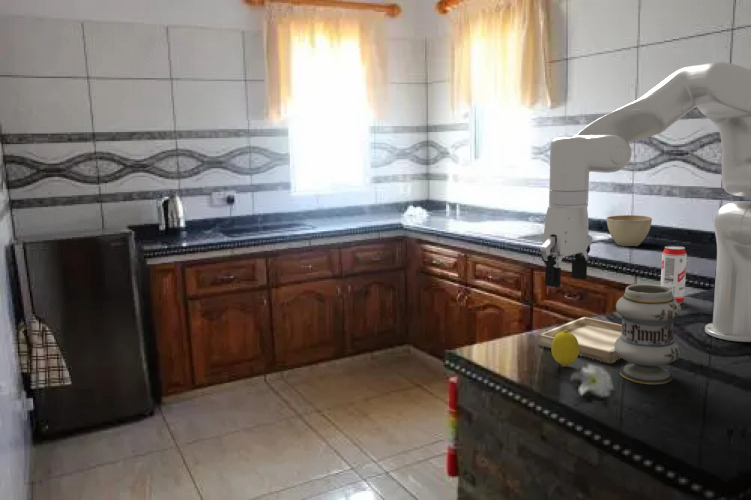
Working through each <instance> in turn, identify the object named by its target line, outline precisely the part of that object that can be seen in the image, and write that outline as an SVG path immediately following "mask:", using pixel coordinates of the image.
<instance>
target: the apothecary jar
mask: <svg viewBox="0 0 751 500" xmlns="http://www.w3.org/2000/svg"><path fill="white" fill-rule="evenodd" d="M615 309H616V312H617V313H618V314H619V315H620V316H621V325H622V333H621V336H620V337H619V338H618V339H617V340H616V342H615V345H614V347H615V351H616V352H617V354H618V355H619V356H620V357H621V359H622V360H624V361H626V362H629V364H626V365H624V366H622V367H620V370H619V375H620V376H621V377H622V378H624V379H625V380H627V381H628V380H629V381H631V382H634V383H639V384H642V385H643V384H644V385H663V384H667V383H669V382H672V380H673V378H674V377H673V374H672V373H671V372H670V371H669V370H668V369H665V368H663V367H661V366H665V365H669V364H672V363H673V362H675V361H677V360H678V358H680V355H681V347H680V345H679V343H678V342H677V341H676V340H675V339H674V337H675V335H674V333H675V332H674V331H675V330H674V328H675V326H674V325H675V324H674V323H675V320H676V319H677V318H678V317H680V315H681V314H682V306H681V304H679V303H678V302H677V301H676V300H675V299H673V295H672V289H671V288H669V287H665V286H661V284H660V285H658V284H649V283H641V284H640V283H639V284H630V285H627V286H626V287H625V290H624V293H623V296H621V297H620V298H619V299H618V300H617V301H616V303H615Z"/></svg>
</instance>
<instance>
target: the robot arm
mask: <svg viewBox="0 0 751 500" xmlns="http://www.w3.org/2000/svg"><path fill="white" fill-rule="evenodd" d="M695 108H697V109H698V110H699V112H700V113H701V114H702V115H704V116H705V117H706V118H708V119H709V120H710V121H711V122H712V123H713V125H714V126H715V127H716V128H717V130H718V133H719V135H720V141H721V142H720V143H721V145H720V146H721V183H722V188H723V190H724V191H725V192H726V193H727V194H730V195H732V196H737V197H746V198H751V69H750V68H747V67H744V66H741V65H737V64H734V63H730V62H727V61H726V62H725V61H717V62H716V61H715V62H708V63H701V64H695V65H689V66H684V67H681V68H679V69H677V70H675V71H674V72H673V73H671V74H670V75H669V76H667V77H666V78H665V79H663V80H662V81H661V82H660V83H658V84H657V85H655V86H654V87H652V88H651V89H650V90H649V91H647V92H646V93H645V94H644V95H642V96H640V98H639V97H638V99H636V100H634V101H632V102H630V103H628V104H626V105H623V106H621V107H619V108H617V109H616V110H614V111H612V112H609V113H607V114H605V115H603V116H602V117H599V118H597V119H595V120H594V121H592V122H590V123H589V124H587V125H586V126H585V127H584V128H582V129H581V130H580V131H578V132H577V133H576V134H575V135H573V136H561V137H560V136H559V137H556V138H553V139H552V141H551V143H550V146H549V147H550V148H549V149H550V150H549V152H550V153H549V187H548V188H549V190H548V193H549V194H548V207H547V209H546V210H547V211H546V213H545V218H544V219H545V220H544V227H543V228H544V229H543V240H542V241H543V242H542V245H541V246H540V247H539V249H540V254H541V260H542V261H543V266H544V267H545V271H544V272H545V273H544V274H545V275H544V278H545V279H544V284H545V286H547V287H551V288H553V287H554V288H560V287H561V282H562V281H561V280H562V279H561V277H562V275H561V274H562V268H561V267H560V265H561V262H562V260H563V258H567V257H571V256H573V258H572V259H571V278H573V279H579V280H586V279H587V277H588V275H587V274H588V272H587V271H588V260H589V258H590V256H589V254H590V251H591V245H592V242H593V237H592V236H591V235H590V234H589V232H590V231H589V213H588V212H589V211H588V207H589V189H590V188H589V187H590V184H589V182H590V181H589V180H590V172H593V173H601V174H602V173H603V174H605V173H606V174H610V173H614V172H619V171H620V170H622V169H624V168H625V167H626V166H627V165H628V164H629V162H630V161H631V158H632V148H631V145H630V142H634V141H640V140H644V139H648V138H650V137H653V136H657V135H659V134H661V133H663V132H665V131H666V130H668V129H669V128H670V127H671V126H673V125H674V124H675V123H676V122H678V121H679V120H680V119H681V118H682V117H685V116H686V114H688V113H689V112H691V111H692V110H693V109H695ZM713 226H714V227H713V228H714V233H715V235H714V236H715V241H716V268H715V269H716V270H715V278H714V279H715V283H714V295H713V296H714V298H713V313H712V322H711V323H710V322H709V323H708V324H706V325H705V326H704V332H705V333H706V334H708V335H709V336H711V337H713V338H717V339H720V340H725V341H732V342H738V343H739V342H741V343H751V201H742V200H741V201H740V200H739V201H731V202H728V203H726V204H723V205H722V206H720V207H719V209H718V210H717V212H716V213H715V216H714V221H713Z"/></svg>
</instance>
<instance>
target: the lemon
mask: <svg viewBox="0 0 751 500" xmlns="http://www.w3.org/2000/svg"><path fill="white" fill-rule="evenodd" d="M550 349H551V356H552V358H553V359H554V360H555V361H556V363H558V364H560V365H562V367H564V368H565V367H567V366H569V365H572V364H573V363H575V361H577V359H578V356H579V355H578V354H579V344H578V341H577V338H576V337H575V336H574V335H573V334H572V333H570V332H568V331H567V330H564V331H562V332H559V333H558V334H556V335H555V337H554V338H553V341H552V346H551V348H550Z"/></svg>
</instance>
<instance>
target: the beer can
mask: <svg viewBox="0 0 751 500" xmlns="http://www.w3.org/2000/svg"><path fill="white" fill-rule="evenodd" d="M685 249H686V248H685V246H680V245H667V246H664V250H663V251H662V253H661V271H660V272H661V273H660V274H661V275H660V286H665V287H669V288H671V289H672V295H673V299H675V300H676V301H677V302H678V303H679V304H680V305H681V304H682V303H684V301H685V297H686V296H685V293H686V292H685V291H686V290H685V289H686V275H687V260H688V259H687V256H688V254H687V252H686V250H685Z"/></svg>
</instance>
